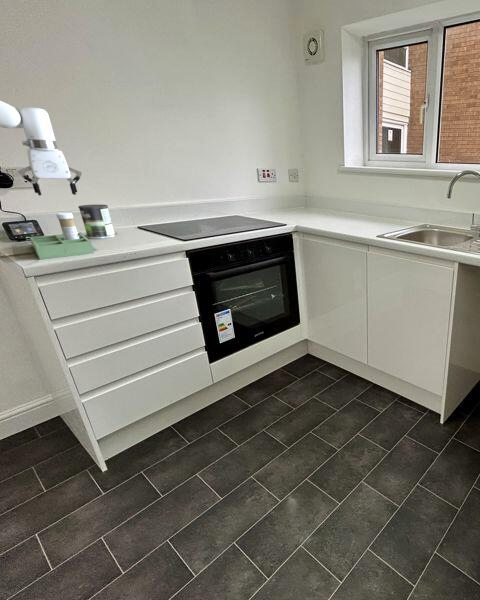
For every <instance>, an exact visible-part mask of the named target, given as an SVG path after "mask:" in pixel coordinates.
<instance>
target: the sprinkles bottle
mask: <svg viewBox="0 0 480 600" xmlns="http://www.w3.org/2000/svg"><path fill="white" fill-rule="evenodd" d="M56 218H57V219H58V222H59V225H60V228H61V233H62V234H63V236H64V239H65V240H72V239H79V236H78V233H79V232H78V230H77V227H76V224H75V220H74V215H73V213H72V212H58V213H56Z"/></svg>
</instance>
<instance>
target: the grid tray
mask: <svg viewBox="0 0 480 600" xmlns="http://www.w3.org/2000/svg"><path fill="white" fill-rule="evenodd" d="M78 236H79V239H72V240H65V239H64V236H63V233H62V234H61V233H60V234H50V235H37V236H29V241H30V243H31V247H32V248H33V250H34V251H35V254H36V256H37V257H38V259H39V260H49V259H55V258H56V259H57V258H64V257H72V256H73V257H74V256H80V255H81V256H82V255H88V254H95V250H94V247H93V244H92V241H91V240H90V238H87V236H85V235H84V234H83V233H82V232H78Z"/></svg>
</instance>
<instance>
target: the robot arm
mask: <svg viewBox="0 0 480 600" xmlns="http://www.w3.org/2000/svg"><path fill="white" fill-rule="evenodd" d="M0 128H2V129H23V131H24V134H25V138H26V140H21V144H22V146H26V147H28V148H27V149H26V151H27V153H26V154H27V159H28V164H29V165H28V166H26V167H23V168H21V169H18V170H17V172H16V173H18V174H19V176H20V177H22V179H24V180H25V181H28V182H29V183H30V184H31V185H32V187H33V190H34V193H35V194H37V195H38V196H42V192H41V188H40V185H39V184H38V181H39V180H40V179H41V180H46V179H47V180H67V181H68V182H69V187H70V190H71V194H72V195H74V196H76V195H77V193H78V189H77V185H76V184H77V183H78V181H79V180H81V178H82V177H81V176H82V174H83V173H82V172H81V171H79V170H77V169H74V168H72V167H70V166H68V163H67V160H66V158H65V156H64V153H63V151H62V150H59V148H58V144H57V141H56V137H55V133H54V130H53V126H52V123H51V119H50V116H49V113H48V112H47V111H46V110H45V109H43V108H39V107H33V106H20V107H16V106H12V105H11V104H8V103H7V102H4V101H2V100H0ZM27 172H31V175H32V178H30V177H29V176H28V175H27V174H26V173H27ZM71 173H73V174H75V176H74V177H73V178H72V177H71Z"/></svg>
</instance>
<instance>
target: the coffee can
mask: <svg viewBox="0 0 480 600" xmlns="http://www.w3.org/2000/svg"><path fill="white" fill-rule="evenodd" d="M77 208H78V209H79V212H80V216H81V220H82V222H83V223H82V224H83V226H84V230H85V233H86V238H87V239H92V240H97V239H100V240H101V239H102V240H103V239H111V238H114V237H116V233H115V230H114V225H113V222H112V218H111V213H110V211H109V205H108V204H83V205H81V204H80V205H78V206H77Z"/></svg>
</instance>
